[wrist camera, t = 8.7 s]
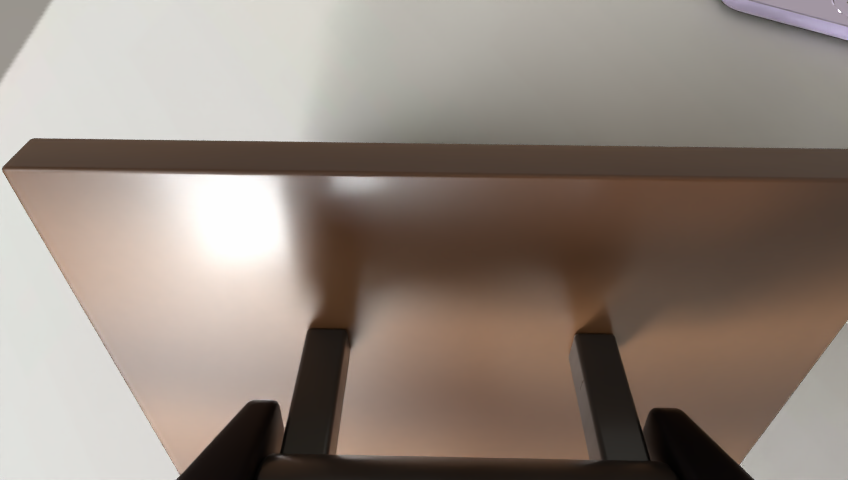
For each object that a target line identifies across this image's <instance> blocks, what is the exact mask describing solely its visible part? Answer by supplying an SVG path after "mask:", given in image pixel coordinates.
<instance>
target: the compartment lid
mask: <svg viewBox="0 0 848 480" xmlns="http://www.w3.org/2000/svg"><path fill="white" fill-rule="evenodd" d="M2 170H3V173H4V174H5V176H6V178H7V180H8V181H9V183H10V185H11V186H12V188H13V190H14V192H15V193H16V195H17V197H18V198H19V200H20V202H21V204H22V205H23V207H24V209H25V210H26V212H27V214H28V216H29V217H30V219H31V221H32V222H33V224H34V226H35V228H36V229H37V231H38V233H39V234H40V236H41V238H42V239H43V241H44V243H45V245H46V246H47V248H48V250H49V251H50V253H51V255H52V257H53V258H54V260H55V262H56V263H57V265H58V267H59V269H60V270H61V272H62V274H63V275H64V277H65V279H66V281H67V282H68V284H69V286H70V287H71V289H72V291H73V293H74V294H75V296H76V298H77V299H78V301H79V303H80V305H81V306H82V308H83V310H84V311H85V313H86V315H87V316H88V318H89V320H90V322H91V323H92V325H93V327H94V328H95V330H96V332H97V334H98V335H99V337H100V339H101V340H102V342H103V344H104V346H105V347H106V349H107V351H108V352H109V354H110V356H111V358H112V359H113V361H114V363H115V364H116V366H117V368H118V370H119V371H120V373H121V375H122V376H123V378H124V380H125V382H126V383H127V385H128V387H129V388H130V390H131V392H132V394H133V395H134V397H135V399H136V400H137V402H138V404H139V405H140V407H141V409H142V411H143V412H144V414H145V416H146V417H147V419H148V421H149V423H150V424H151V426H152V428H153V429H154V431H155V433H156V435H157V436H158V438H159V440H160V441H161V443H162V445H163V447H164V448H165V450H166V452H167V453H168V455H169V457H170V459H171V460H172V462H173V464H174V465H175V467H176V469H177V471H178V472H179V474H180V475H181V474H182V473H183V472H184V471H185V470H186V469H187V468H188V467H189V465H190V464H191V463H192V462H193V461H194V460H195V459H196V458H197V457H198V456H199V455H200V454H201V452H202V451H203V450H204V449H205V448H206V447H207V446H208V445H209V444H210V443H211V442H212V441H213V439H214V438H215V437H216V436H217V435H218V434H219V433H220V432H221V431H222V430H223V429H224V428H225V426H226V425H227V424H228V423H229V422H230V421H231V420H232V419H233V418H234V417H235V416H236V415H237V413H238V412H239V411H240V410H241V409H242V408H243V407H244V406H245V405H246V404H247V403H248V402H249V401H251V400H275V401H277V402H278V403H279V406H280V410H281V415H282V420H283V425H284V430H285V432H284V436H283V441H282V445H281V450H280V453H273V454H270V455H268V456H266V457H265V458H264V459H263V460H262V461H261V463H260V465H259V467H258V469H257V472H256V474H255V477H254V480H680V478H679V477H678V475H677V473H676V472H675V471H674V469H673V468H672V467H670V466H669V465H668V464H666V463H663V462H660V461H651V459H650V456H649V452H648V449H647V445H646V442H645V438H644V435H643V428H644V425H645V422H646V419H647V416H648V414H649V412H650V410H651V409H653V408H678V409H680V410H682V411H683V412H685V413H686V414H687V415H688V416H689V417H690V418H691V419H692V420H693V421H694V422H695V423H696V424H697V425H698V426H699V427H700V428H701V429H702V430H703V431H704V432H705V433H706V434H707V435H709V436H710V437H711V438H712V439H713V440H714V441H715V442H716V443H717V444H718V445H719V446H720V447H721V448H722V449H723V450H724V451H725V452H726V453H727V454H728V455H729V456H730V457H731V458H732V459H733V460H734V461H735V462H736V463H737V464H739V465H740V463H741V462H742V461H743V459H744V458H745V457H746V455H747V454H748V453H749V451H750V450H751V449H752V447H753V446H754V445H755V443H756V442H757V441H758V439H759V438H760V437H761V435H762V434H763V433H764V431H765V430H766V429H767V427H768V426H769V425H770V423H771V422H772V421H773V419H774V418H775V417H776V415H777V414H778V413H779V411H780V410H781V409H782V407H783V406H784V405H785V403H786V402H787V401H788V399H789V398H790V397H791V395H792V394H793V393H794V391H795V390H796V389H797V387H798V386H799V385H800V383H801V382H802V381H803V379H804V378H805V377H806V375H807V374H808V373H809V371H810V370H811V369H812V367H813V366H814V365H815V363H816V362H817V361H818V359H819V358H820V357H821V355H822V354H823V353H824V351H825V350H826V349H827V347H828V346H829V345H830V343H831V342H832V341H833V339H834V338H835V337H836V335H837V334H838V333H839V331H840V330H841V328H842V327H843V326H844V324H845V323H846V322H847V320H848V149H816V148H738V147H661V146H584V145H506V144H429V143H352V142H274V141H197V140H120V139H42V138H34V139H31V140H29V141H28V142H27V143H26V144H25V145H24V146H23V147H22V148H21V149H20V150H19V151H18V152H17V153H16V154H15V155H14V156H13V157H12V158H11V159H10V160H9V161H8V162H7V163H6V164H5V165H4V166H3V168H2Z"/></svg>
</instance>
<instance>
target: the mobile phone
mask: <svg viewBox="0 0 848 480" xmlns="http://www.w3.org/2000/svg"><path fill="white" fill-rule="evenodd" d="M722 1H723V3H724V4H726V5H727V6H728V7H730V8H732V9H734V10H737V11H740V12H744V13H747V14H751V15H755V16H759V17H762V18H766V19H770V20H774V21H777V22H781V23H785V24H788V25H792V26H796V27H800V28H803V29H807V30H811V31H814V32H818V33H822V34H826V35H829V36H833V37H837V38H841V39H844V40H848V0H722Z"/></svg>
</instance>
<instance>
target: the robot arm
mask: <svg viewBox="0 0 848 480" xmlns="http://www.w3.org/2000/svg"><path fill="white" fill-rule="evenodd" d="M284 432H285V430H284V425H283V420H282V415H281V410H280V406H279V403H278V402H277V401H275V400H251V401H249V402H248V403H247V404H246V405H245V406H244V407H243V408H242V409H241V410H240V411H239V412H238V413H237V415H236V416H235V417H234V418H233V419H232V420H231V421H230V422H229V423H228V424H227V425H226V426H225V428H224V429H223V430H222V431H221V432H220V433H219V434H218V435H217V436H216V437H215V438H214V439H213V441H212V442H211V443H210V444H209V445H208V446H207V447H206V448H205V449H204V450H203V451H202V452H201V454H200V455H199V456H198V457H197V458H196V459H195V460H194V461H193V462H192V463H191V464H190V465H189V467H188V468H187V469H186V470H185V471H184V472H183V473H182V474H181V475H180V476H179V477H178V478H177V480H254V477H255V474H256V472H257V469H258V467H259V465H260V463H261V461H262V460H263V459H264V458H265V457H266V456H268V455H270V454H273V453H280V450H281V445H282V441H283V436H284ZM643 435H644V438H645V442H646V445H647V449H648V452H649V456H650V459H651V461H660V462H663V463H666V464H668V465H669V466H670V467H672V468H673V469H674V471H675V472H676V473H677V475H678V477H679V478H680V480H754V479H753V478H752V477H751V476H750V475H749V474H748V473H747V472H746V471H745V470H744V469H743V468H742V467H741V466H740V465H739V464H737V463H736V462H735V461H734V460H733V459H732V458H731V457H730V456H729V455H728V454H727V453H726V452H725V451H724V450H723V449H722V448H721V447H720V446H719V445H718V444H717V443H716V442H715V441H714V440H713V439H712V438H711V437H710V436H709V435H707V434H706V433H705V432H704V431H703V430H702V429H701V428H700V427H699V426H698V425H697V424H696V423H695V422H694V421H693V420H692V419H691V418H690V417H689V416H688V415H687V414H686V413H685V412H683V411H682V410H680V409H678V408H653V409H651V410H650V412H649V414H648V416H647V419H646V422H645V425H644V428H643Z"/></svg>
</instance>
